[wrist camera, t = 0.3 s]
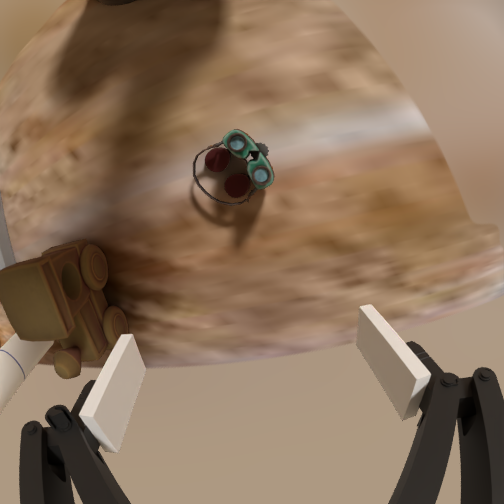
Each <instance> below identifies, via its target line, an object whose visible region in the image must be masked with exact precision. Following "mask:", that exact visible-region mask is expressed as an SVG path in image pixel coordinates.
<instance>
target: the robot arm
mask: <svg viewBox="0 0 504 504" xmlns="http://www.w3.org/2000/svg"><path fill="white" fill-rule="evenodd" d="M98 1H99V2H101V3H103V4H107V5H120V4H125V3H129V2H133V1H135V0H98ZM356 345H357V347H358V349H359V350H360V352H361V353H362V355H363V357H364V358H365V360H366V361H367V363H368V364H369V366H370V368H371V369H372V371H373V372H374V374H375V375H376V377H377V379H378V381H379V382H380V384H381V386H382V387H383V389H384V391H385V392H386V394H387V395H388V397H389V399H390V400H391V402H392V404H393V406H394V407H395V409H396V411H397V412H398V414H399V415H400V417H401V419H402V421H403V420H405V419H408V418H410V417H413V416H416V414H417V411H418V409H419V408H420V409H421V411H422V412H423V413H422V416H421V418H420V420H419V422H418V424H417V426H418V429H417V432H416V435H415V438H414V441H413V444H412V447H411V450H410V453H409V456H408V458H407V461H406V464H405V467H404V469H403V471H402V474H401V476H400V479H399V481H398V483H397V486H396V488H395V490H394V493H393V495H392V497H391V499H390V501H389V503H388V504H435V503H436V500H437V497H438V494H439V491H440V488H441V485H442V481H443V478H444V474H445V471H446V467H447V463H448V459H449V455H450V451H451V446H452V441H453V436H454V431H455V425H456V420H457V423H458V432H459V444H460V458H461V504H504V399H503V396H502V393H501V390H500V387H499V383H498V380H497V377H496V375H495V373H494V372H493V371H492V370H491V369H489V368H484V367H481V368H478V369H477V370H475V372H474V374H473V376H472V377H468V378H459V377H458V376H456V375H455V374H452V373H444V372H443V371H442V370H441V368H440V367H439V366H438V365H437V364H436V363H435V362H434V360H433V359H432V358H431V357H429V355H428V354H427V353H426V352H425V350H424V349H423V348H422V347H421V346H420V345H418V344H416V343H415V342H413V341H411V342H407V343H405V342H404V341H403V340H402V339H401V338H400V337H399V335H398V334H397V333H396V332H395V331H394V330H393V328H392V327H391V326H390V325H389V324H388V323H387V322H386V321H385V319H384V318H383V317H382V316H381V315H380V314H379V313H378V312H377V310H376V309H375V308H374V307H373V306H372V305H371V304H370V305H365V306H360V307H359V318H358V330H357V341H356ZM145 372H146V368H145V366H144V363H143V361H142V358H141V355H140V353H139V350H138V347H137V345H136V342H135V339H134V336H133V334H121V336H120V338H119V340H118V341H117V343H116V345H115V347H114V348H113V350H112V352H111V354H110V356H109V358H108V359H107V361H106V363H105V365H104V367H103V369H102V370H101V372H100V374H99V376H98V378H97V380H91V381H89V382H88V383H87V384H86V385H85V386H84V388H83V390H82V392H81V394H80V395H79V398H78V399H77V401H76V403H75V405H74V407H73V409H72V411H71V413H70V412H69V410H68V409H67V407H66V406H63V405H56V406H53V407H51V408H50V409H49V410H48V411H47V413H46V415H45V419H46V421H47V422H48V424H49V425H50V426H51V427H44V428H43V427H42V425H41V424H40V423H39V422H37V421H30V422H28V423H27V424H25V425H24V427H23V428H22V432H21V444H20V467H19V472H20V473H19V481H20V482H19V485H20V504H75V502H74V497H73V491H72V485H71V478H72V481H73V483H74V485H75V488H76V489H77V492H78V494H79V496H80V498H81V500H82V502H83V504H131V503H130V501H129V500H128V498H127V497H126V496H125V494H124V493H123V491H122V489H121V488H120V486H119V485H118V483H117V482H116V480H115V478H114V476H113V475H112V473H111V471H110V470H109V468H108V466H107V464H106V463H105V461H104V459H103V457H102V456H101V454H100V452H99V451H98V449H99V446H100V445H101V447H102V448H103V449H104V450H105V451H106V452H113V453H119V451H120V447H121V444H122V441H123V438H124V435H125V431H126V428H127V425H128V422H129V419H130V416H131V413H132V410H133V407H134V404H135V401H136V398H137V395H138V392H139V389H140V386H141V383H142V380H143V378H144V375H145ZM70 476H71V478H70Z"/></svg>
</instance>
